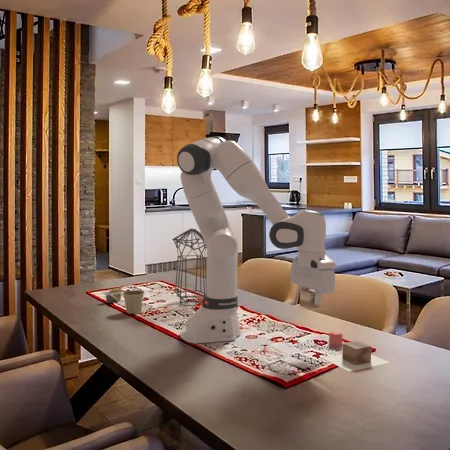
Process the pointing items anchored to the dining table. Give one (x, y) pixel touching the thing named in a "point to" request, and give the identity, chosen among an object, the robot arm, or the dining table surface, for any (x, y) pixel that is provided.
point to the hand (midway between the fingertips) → (310, 301)
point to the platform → (113, 295)
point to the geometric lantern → (185, 263)
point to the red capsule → (335, 339)
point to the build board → (351, 367)
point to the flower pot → (133, 301)
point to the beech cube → (308, 299)
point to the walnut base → (356, 352)
